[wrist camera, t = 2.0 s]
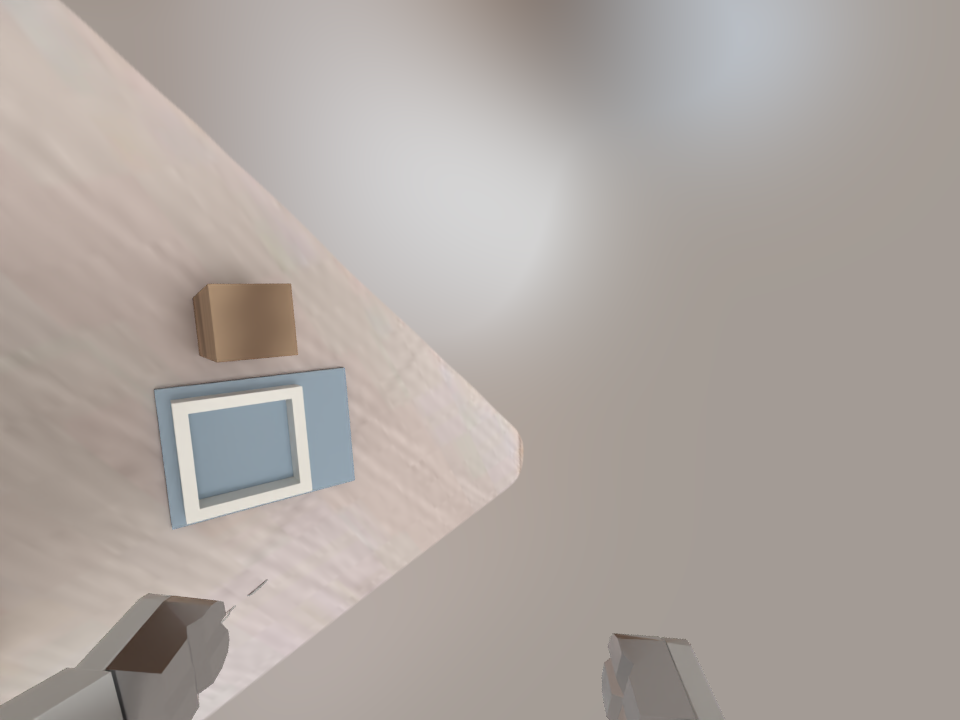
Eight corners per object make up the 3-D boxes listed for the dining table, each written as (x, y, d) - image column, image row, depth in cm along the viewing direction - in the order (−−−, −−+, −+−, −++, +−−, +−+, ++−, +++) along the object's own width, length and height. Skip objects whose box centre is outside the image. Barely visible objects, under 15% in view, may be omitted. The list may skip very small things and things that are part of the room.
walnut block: (199, 355, 39) (217, 362, 29) (192, 298, 39) (207, 284, 28) (261, 350, 42) (298, 354, 32) (255, 296, 42) (290, 283, 31)
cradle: (172, 526, 38) (173, 540, 36) (154, 389, 37) (154, 393, 35) (352, 478, 48) (363, 486, 45) (342, 367, 47) (353, 369, 44)
